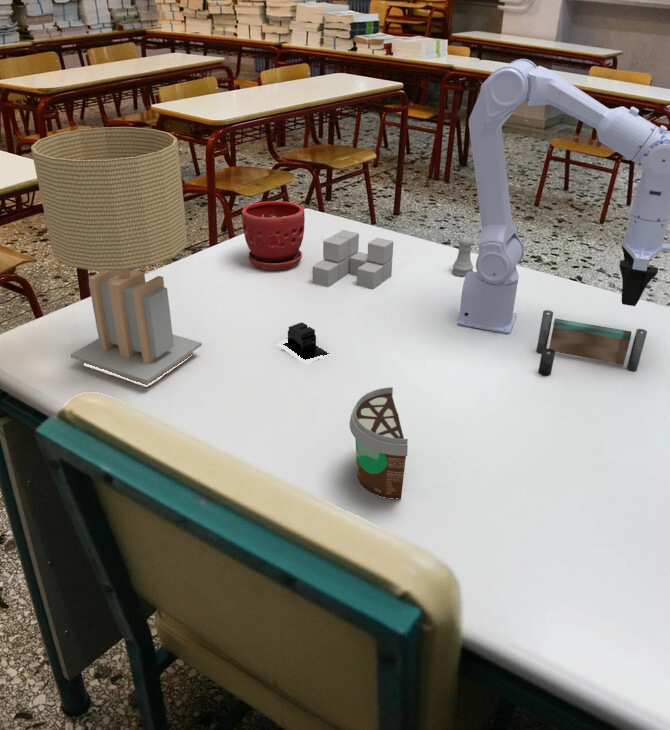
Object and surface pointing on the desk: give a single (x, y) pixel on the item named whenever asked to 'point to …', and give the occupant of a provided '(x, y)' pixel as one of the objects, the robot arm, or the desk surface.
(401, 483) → the food container
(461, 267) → the rook chess piece
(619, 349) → the open box
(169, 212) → the desk lamp
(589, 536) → the desk surface
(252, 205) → the plant pot
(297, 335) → the black stepped block
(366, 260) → the grey cube structure
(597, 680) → the desk surface
